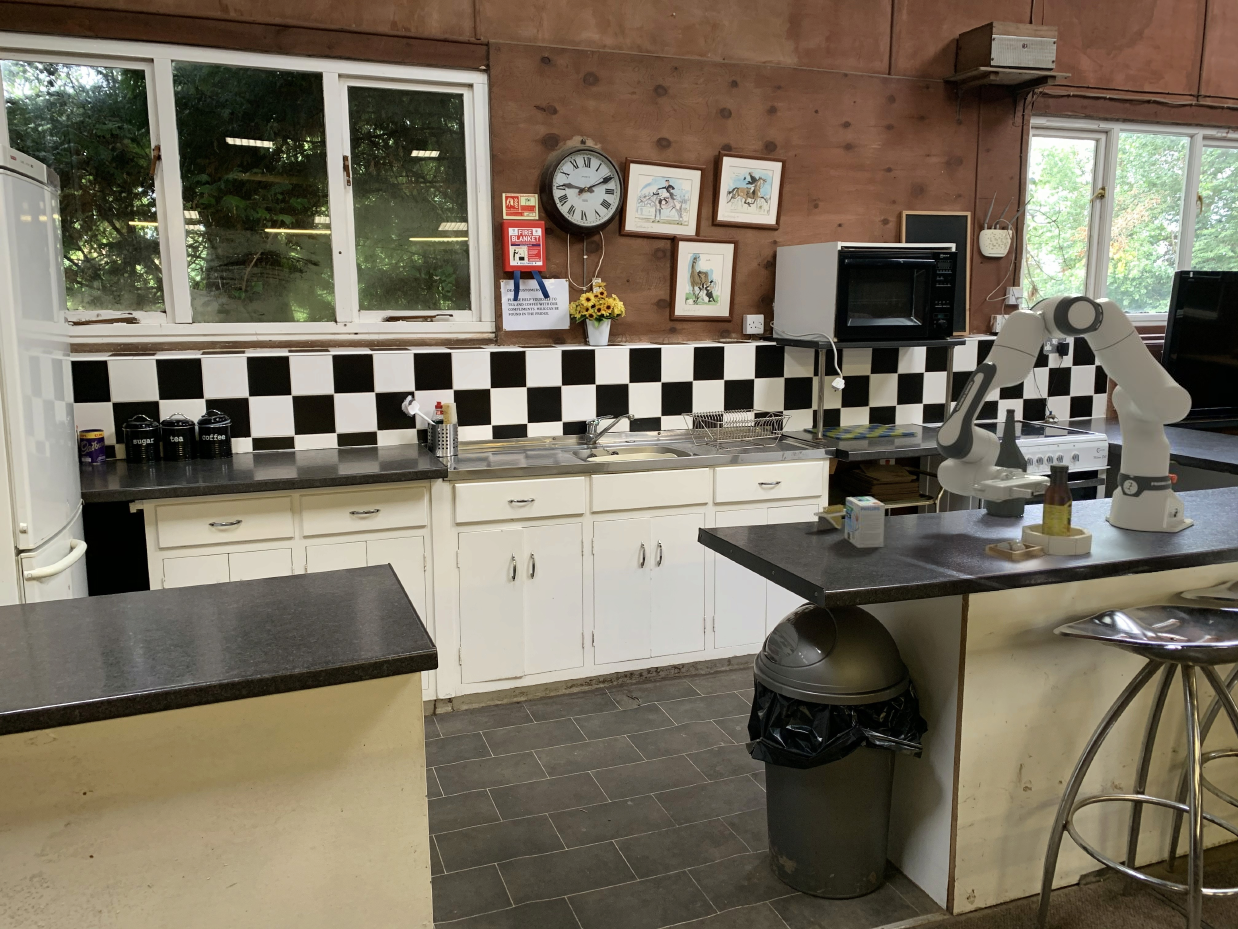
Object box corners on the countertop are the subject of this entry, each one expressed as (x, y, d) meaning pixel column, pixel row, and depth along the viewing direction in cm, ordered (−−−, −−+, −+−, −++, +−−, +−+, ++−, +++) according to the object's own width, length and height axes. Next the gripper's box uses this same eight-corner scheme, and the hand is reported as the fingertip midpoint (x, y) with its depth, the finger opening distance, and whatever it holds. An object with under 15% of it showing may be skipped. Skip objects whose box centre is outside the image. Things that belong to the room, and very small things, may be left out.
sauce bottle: (1072, 550, 221) (1078, 467, 217) (1044, 549, 222) (1049, 467, 219) (1065, 544, 227) (1071, 463, 224) (1038, 542, 228) (1043, 462, 225)
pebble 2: (1014, 550, 222) (1015, 538, 222) (1026, 553, 220) (1026, 540, 219) (1006, 552, 221) (1007, 539, 220) (1017, 554, 218) (1018, 542, 218)
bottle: (1031, 516, 262) (1038, 409, 257) (1004, 519, 259) (1010, 411, 254) (1005, 509, 272) (1011, 406, 267) (977, 512, 268) (983, 408, 263)
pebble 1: (1001, 552, 220) (1002, 540, 220) (1012, 555, 218) (1013, 543, 217) (993, 554, 219) (994, 542, 218) (1004, 557, 216) (1005, 544, 216)
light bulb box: (843, 537, 240) (845, 496, 238) (869, 537, 240) (870, 496, 239) (858, 548, 229) (859, 505, 228) (884, 547, 230) (886, 504, 228)
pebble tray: (1012, 551, 224) (1013, 540, 224) (1042, 558, 217) (1043, 547, 217) (985, 557, 219) (985, 545, 219) (1014, 565, 212) (1015, 553, 212)
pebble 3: (1016, 553, 219) (1017, 541, 219) (1028, 556, 216) (1028, 544, 216) (1008, 555, 218) (1009, 543, 217) (1019, 558, 215) (1020, 545, 215)
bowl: (1046, 540, 234) (1048, 521, 233) (1101, 553, 222) (1103, 532, 221) (1009, 548, 227) (1010, 528, 226) (1063, 561, 215) (1065, 540, 214)
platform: (872, 530, 249) (873, 506, 247) (820, 539, 240) (821, 514, 239) (842, 522, 259) (842, 499, 258) (790, 530, 250) (791, 506, 249)
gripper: (968, 475, 231) (1017, 483, 220) (1021, 468, 242) (1070, 475, 230) (967, 500, 232) (1015, 510, 221) (1019, 492, 243) (1068, 500, 231)
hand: (1044, 492), depth 225 cm, fingers open, 8 cm apart
